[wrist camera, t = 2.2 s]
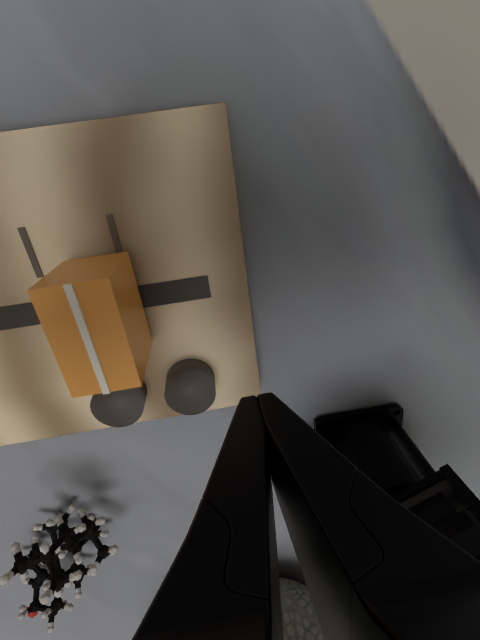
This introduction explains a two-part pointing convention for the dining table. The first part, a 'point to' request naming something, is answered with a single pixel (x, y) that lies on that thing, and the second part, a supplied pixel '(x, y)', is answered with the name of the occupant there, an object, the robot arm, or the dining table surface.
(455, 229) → the dining table surface
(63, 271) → the fader cap
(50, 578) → the molecular model
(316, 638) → the planter
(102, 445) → the dining table surface
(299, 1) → the dining table surface
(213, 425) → the dining table surface
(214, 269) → the console panel
